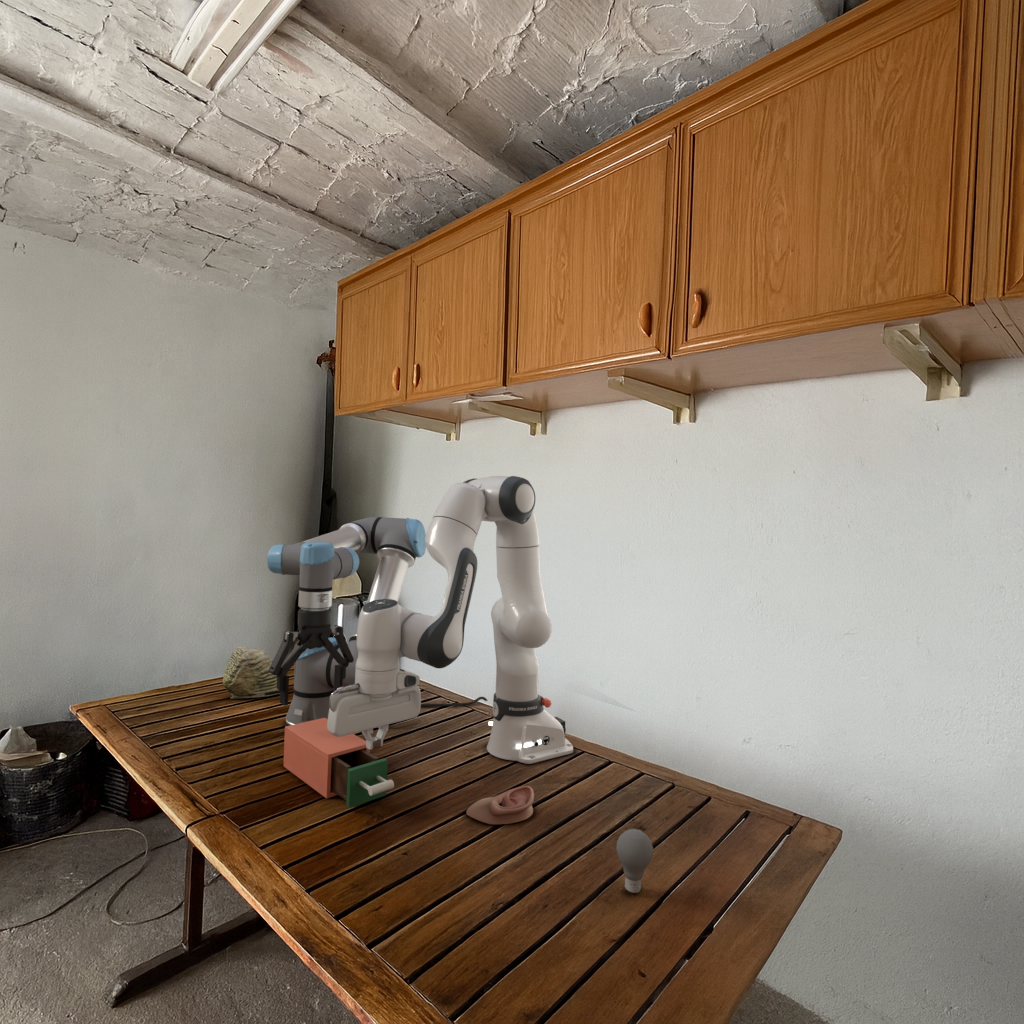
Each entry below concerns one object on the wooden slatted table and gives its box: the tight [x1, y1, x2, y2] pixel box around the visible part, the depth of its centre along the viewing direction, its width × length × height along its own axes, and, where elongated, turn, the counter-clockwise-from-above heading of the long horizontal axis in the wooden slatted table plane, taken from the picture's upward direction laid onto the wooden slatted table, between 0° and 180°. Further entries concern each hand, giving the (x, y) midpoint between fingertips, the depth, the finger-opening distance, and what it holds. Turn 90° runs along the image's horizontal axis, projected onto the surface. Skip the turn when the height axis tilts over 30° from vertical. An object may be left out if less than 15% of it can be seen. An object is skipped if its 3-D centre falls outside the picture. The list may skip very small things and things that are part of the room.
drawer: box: [330, 749, 395, 809], centre depth 136 cm, size 25×9×8 cm, turn 45°
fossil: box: [222, 646, 280, 699], centre depth 198 cm, size 9×18×15 cm, turn 132°
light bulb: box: [615, 828, 654, 894], centre depth 106 cm, size 6×6×10 cm
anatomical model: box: [465, 785, 535, 825], centre depth 130 cm, size 13×4×12 cm
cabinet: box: [282, 718, 371, 799], centre depth 144 cm, size 21×10×9 cm, turn 45°
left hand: (311, 698), depth 149 cm, fingers open, 13 cm apart
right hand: (374, 747), depth 129 cm, fingers closed
